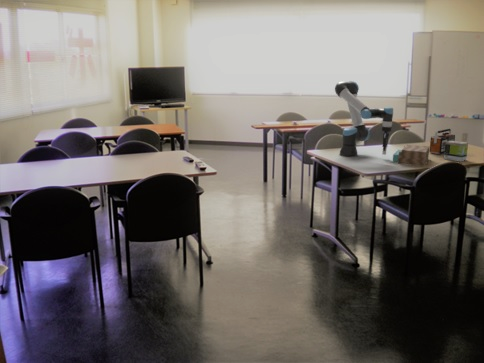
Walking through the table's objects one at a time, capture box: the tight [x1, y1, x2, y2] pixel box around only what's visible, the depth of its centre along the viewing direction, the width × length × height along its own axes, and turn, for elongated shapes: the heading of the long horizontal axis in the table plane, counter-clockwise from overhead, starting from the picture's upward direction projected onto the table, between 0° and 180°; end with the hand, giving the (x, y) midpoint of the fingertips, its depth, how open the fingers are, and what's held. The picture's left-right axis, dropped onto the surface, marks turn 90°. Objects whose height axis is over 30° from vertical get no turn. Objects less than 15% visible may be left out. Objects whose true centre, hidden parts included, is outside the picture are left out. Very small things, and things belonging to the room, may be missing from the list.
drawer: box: [392, 149, 402, 163], centre depth 405 cm, size 23×24×6 cm
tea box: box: [443, 140, 469, 162], centre depth 411 cm, size 15×10×15 cm, turn 42°
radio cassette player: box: [429, 128, 456, 155], centre depth 442 cm, size 29×10×20 cm, turn 134°
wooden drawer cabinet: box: [397, 144, 430, 167], centre depth 403 cm, size 20×28×11 cm
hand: (384, 154), depth 414 cm, fingers closed
